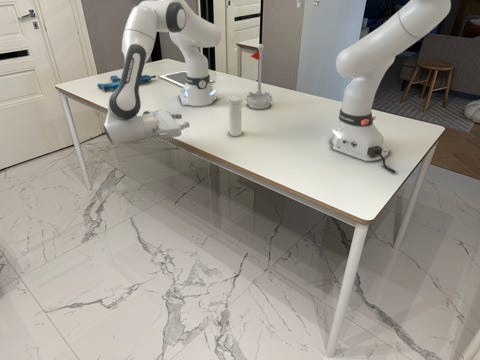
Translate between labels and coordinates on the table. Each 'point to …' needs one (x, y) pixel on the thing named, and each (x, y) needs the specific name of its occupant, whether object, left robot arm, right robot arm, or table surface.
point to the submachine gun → (117, 81)
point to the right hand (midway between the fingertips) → (308, 6)
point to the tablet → (177, 78)
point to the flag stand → (259, 87)
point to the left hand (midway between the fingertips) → (185, 119)
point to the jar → (235, 119)
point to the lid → (235, 100)
